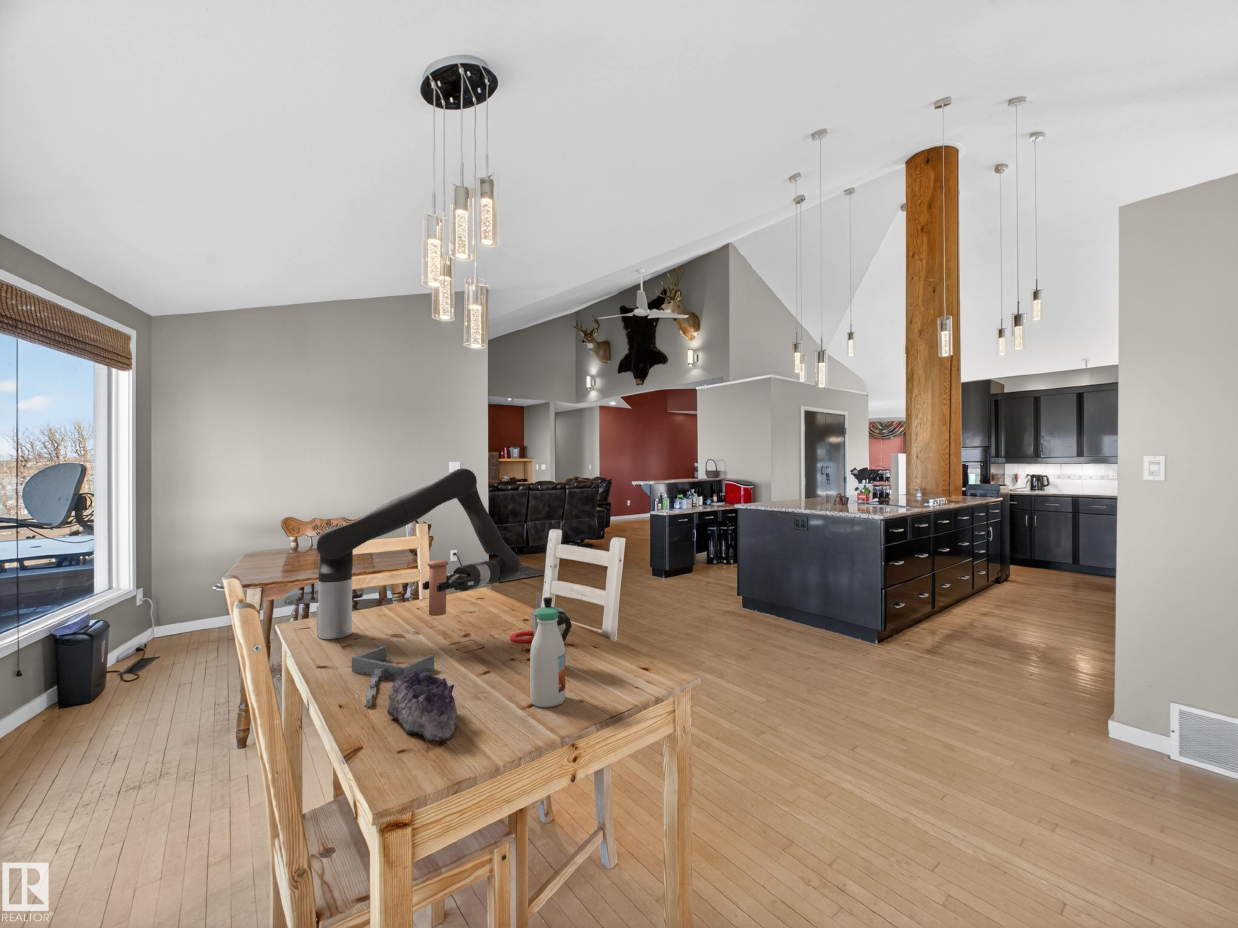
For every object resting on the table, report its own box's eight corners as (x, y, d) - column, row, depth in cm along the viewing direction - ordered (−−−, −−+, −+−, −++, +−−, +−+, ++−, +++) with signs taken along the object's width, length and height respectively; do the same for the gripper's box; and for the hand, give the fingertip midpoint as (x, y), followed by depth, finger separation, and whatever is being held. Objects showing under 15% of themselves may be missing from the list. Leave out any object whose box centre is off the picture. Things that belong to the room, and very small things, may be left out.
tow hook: (506, 644, 162) (540, 643, 161) (504, 597, 162) (537, 596, 161) (514, 635, 171) (545, 634, 170) (511, 590, 171) (543, 589, 170)
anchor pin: (422, 615, 153) (422, 562, 153) (437, 610, 158) (437, 559, 158) (437, 617, 151) (438, 564, 151) (452, 612, 156) (452, 561, 156)
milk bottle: (550, 711, 116) (550, 617, 116) (522, 703, 120) (522, 612, 120) (572, 698, 123) (572, 609, 123) (545, 691, 127) (545, 604, 127)
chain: (364, 707, 118) (364, 699, 118) (371, 679, 134) (371, 672, 134) (373, 706, 119) (373, 698, 119) (379, 678, 135) (379, 671, 135)
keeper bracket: (347, 673, 138) (347, 659, 139) (383, 659, 149) (383, 646, 149) (399, 684, 131) (399, 670, 131) (434, 669, 141) (434, 655, 141)
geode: (480, 730, 109) (475, 682, 108) (424, 759, 101) (417, 708, 100) (435, 695, 124) (430, 652, 122) (383, 718, 116) (377, 673, 115)
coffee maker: (519, 665, 143) (519, 596, 143) (545, 657, 149) (545, 591, 149) (556, 680, 133) (556, 606, 133) (583, 670, 139) (582, 599, 139)
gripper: (453, 562, 171) (411, 571, 155) (490, 565, 165) (450, 576, 149) (453, 586, 171) (411, 597, 155) (490, 590, 165) (450, 603, 149)
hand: (430, 587), depth 152 cm, fingers closed on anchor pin, 4 cm apart
